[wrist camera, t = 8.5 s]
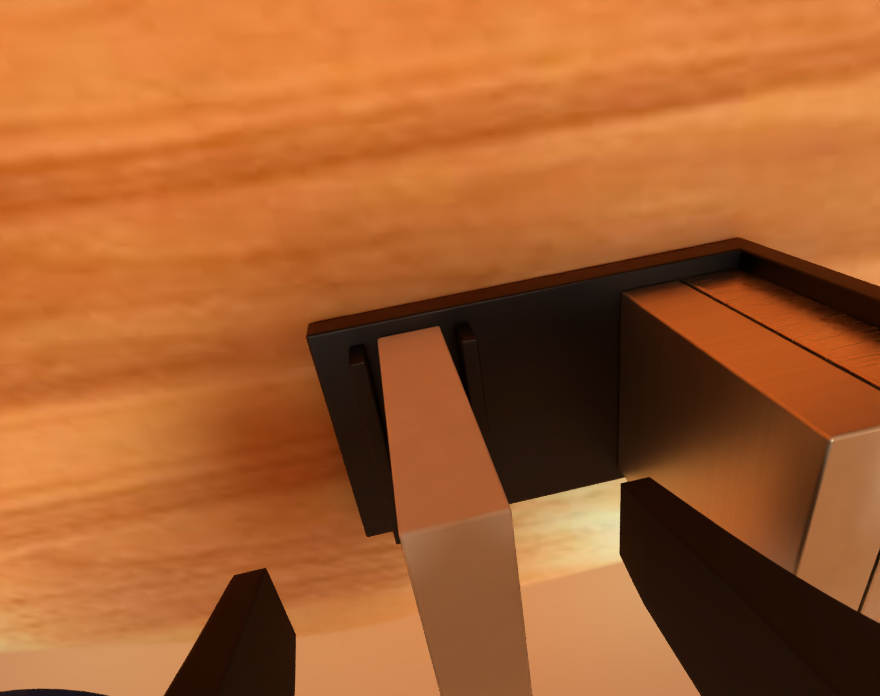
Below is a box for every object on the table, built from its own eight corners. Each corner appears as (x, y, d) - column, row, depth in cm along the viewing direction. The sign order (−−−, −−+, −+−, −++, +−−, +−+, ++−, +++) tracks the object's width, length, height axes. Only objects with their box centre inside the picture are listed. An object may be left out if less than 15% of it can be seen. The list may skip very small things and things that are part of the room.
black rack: (741, 236, 14) (1081, 355, 7) (715, 438, 17) (937, 644, 11) (307, 323, 13) (264, 543, 7) (365, 519, 16) (375, 797, 10)
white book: (439, 324, 13) (512, 510, 7) (468, 500, 15) (538, 737, 10) (376, 337, 13) (398, 536, 7) (417, 512, 15) (456, 759, 10)
